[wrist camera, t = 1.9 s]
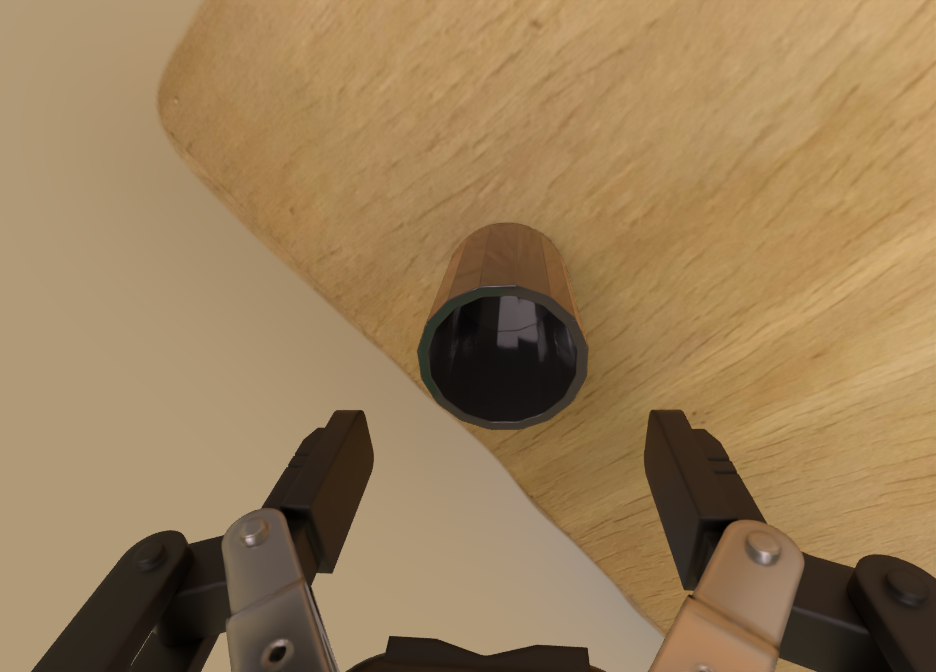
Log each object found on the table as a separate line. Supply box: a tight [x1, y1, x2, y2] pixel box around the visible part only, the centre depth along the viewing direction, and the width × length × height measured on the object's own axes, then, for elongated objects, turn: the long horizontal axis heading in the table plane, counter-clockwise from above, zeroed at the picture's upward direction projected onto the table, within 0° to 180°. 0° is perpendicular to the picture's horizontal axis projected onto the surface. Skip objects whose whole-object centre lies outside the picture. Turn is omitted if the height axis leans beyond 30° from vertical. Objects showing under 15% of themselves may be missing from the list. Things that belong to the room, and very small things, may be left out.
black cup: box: [417, 223, 588, 430], centre depth 20 cm, size 6×6×8 cm
